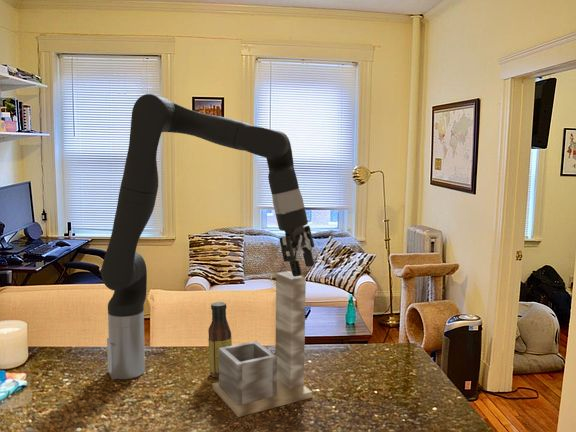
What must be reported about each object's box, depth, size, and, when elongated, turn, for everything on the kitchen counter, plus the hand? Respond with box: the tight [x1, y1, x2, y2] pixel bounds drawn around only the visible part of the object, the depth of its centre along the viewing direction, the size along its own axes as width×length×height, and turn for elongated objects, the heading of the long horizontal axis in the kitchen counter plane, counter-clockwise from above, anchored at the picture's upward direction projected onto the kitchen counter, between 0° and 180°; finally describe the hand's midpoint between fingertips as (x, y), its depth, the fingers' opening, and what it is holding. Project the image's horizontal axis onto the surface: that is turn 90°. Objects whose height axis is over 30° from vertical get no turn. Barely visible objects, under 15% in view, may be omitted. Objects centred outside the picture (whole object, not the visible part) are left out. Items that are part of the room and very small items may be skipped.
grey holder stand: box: [212, 270, 313, 418], centre depth 125 cm, size 20×16×30 cm
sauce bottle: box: [207, 301, 233, 379], centre depth 136 cm, size 6×6×20 cm
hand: (304, 270), depth 127 cm, fingers open, 8 cm apart
